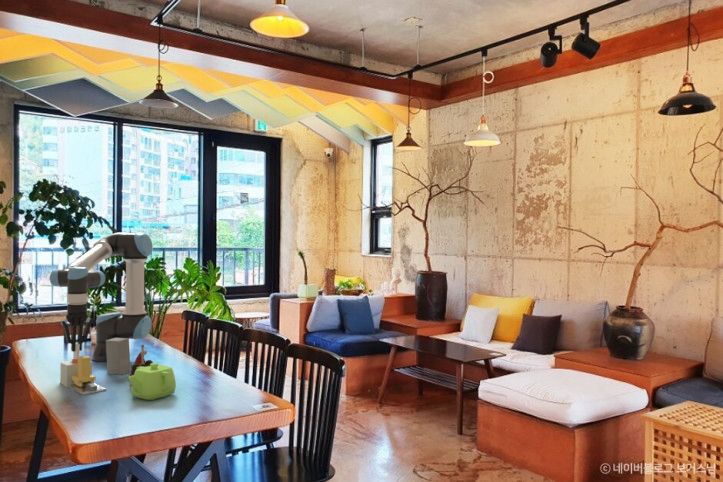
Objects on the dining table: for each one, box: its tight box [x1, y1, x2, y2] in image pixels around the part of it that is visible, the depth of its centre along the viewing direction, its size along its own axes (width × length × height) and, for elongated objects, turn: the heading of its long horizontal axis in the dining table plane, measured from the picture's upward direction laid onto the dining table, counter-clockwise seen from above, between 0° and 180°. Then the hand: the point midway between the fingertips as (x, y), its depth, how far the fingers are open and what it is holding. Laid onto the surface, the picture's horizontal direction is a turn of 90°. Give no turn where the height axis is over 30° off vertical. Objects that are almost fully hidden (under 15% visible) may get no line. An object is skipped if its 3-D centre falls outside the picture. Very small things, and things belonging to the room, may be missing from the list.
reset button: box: [71, 358, 78, 364], centre depth 235 cm, size 3×3×5 cm
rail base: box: [68, 382, 107, 396], centre depth 226 cm, size 9×15×3 cm, turn 47°
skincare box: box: [106, 338, 131, 376], centre depth 253 cm, size 8×7×16 cm
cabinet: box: [59, 360, 93, 388], centre depth 235 cm, size 10×8×9 cm
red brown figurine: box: [129, 344, 154, 389], centre depth 230 cm, size 11×9×18 cm
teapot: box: [127, 362, 177, 401], centre depth 216 cm, size 18×20×13 cm
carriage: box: [72, 355, 97, 387], centre depth 229 cm, size 7×7×11 cm
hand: (76, 358), depth 235 cm, fingers closed
